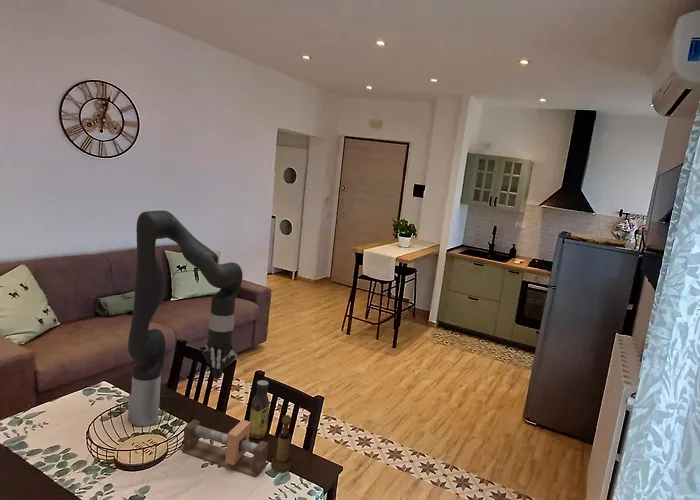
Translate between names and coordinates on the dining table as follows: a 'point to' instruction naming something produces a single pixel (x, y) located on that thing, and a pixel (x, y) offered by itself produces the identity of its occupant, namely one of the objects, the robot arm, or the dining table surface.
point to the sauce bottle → (259, 411)
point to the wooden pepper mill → (283, 449)
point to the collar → (237, 441)
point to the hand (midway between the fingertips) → (216, 377)
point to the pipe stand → (219, 454)
